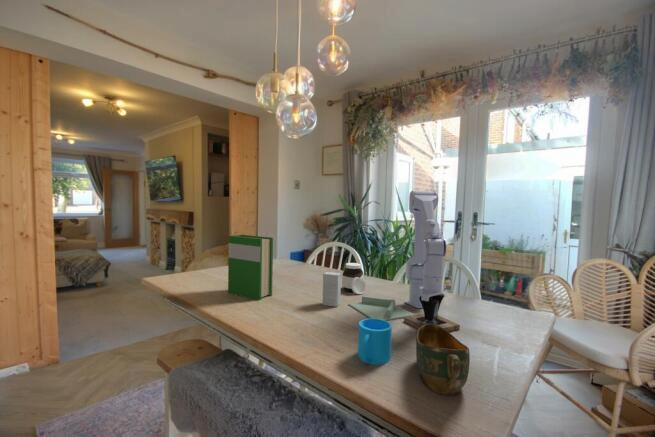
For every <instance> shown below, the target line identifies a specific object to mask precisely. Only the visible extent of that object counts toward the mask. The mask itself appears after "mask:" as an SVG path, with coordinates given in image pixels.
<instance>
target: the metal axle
mask: <svg viewBox="0 0 655 437" xmlns="http://www.w3.org/2000/svg"><path fill="white" fill-rule="evenodd" d="M434 300H435V299H434ZM438 302H439V301H438ZM438 315H439V311H438V303H437V305H436V308H435V311H434V317H433V320H432V321H429V320H426V319H425V321H423V323H425V324H434V325H439V323H438Z"/></svg>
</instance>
